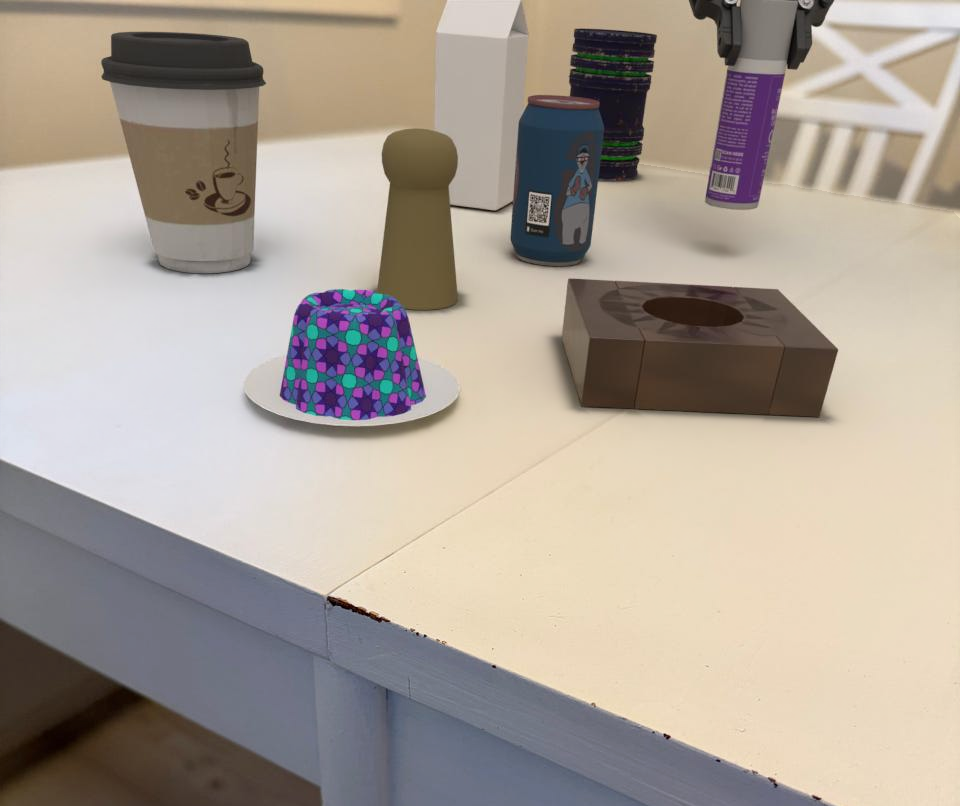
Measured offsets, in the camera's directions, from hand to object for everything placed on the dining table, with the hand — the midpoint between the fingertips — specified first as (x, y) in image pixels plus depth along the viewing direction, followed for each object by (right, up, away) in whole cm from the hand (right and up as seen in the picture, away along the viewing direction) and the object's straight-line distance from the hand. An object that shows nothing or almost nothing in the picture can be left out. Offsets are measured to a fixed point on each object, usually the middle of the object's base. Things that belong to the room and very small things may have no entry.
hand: (765, 59), depth 75 cm
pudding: (-30, -33, -22) cm, 50 cm away
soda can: (-17, -13, +6) cm, 23 cm away
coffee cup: (-45, -17, -1) cm, 48 cm away
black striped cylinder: (-8, +12, +43) cm, 45 cm away
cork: (-28, -21, -5) cm, 35 cm away
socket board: (-10, -30, -16) cm, 35 cm away
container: (-1, -8, +8) cm, 11 cm away
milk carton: (-23, 0, +24) cm, 33 cm away
